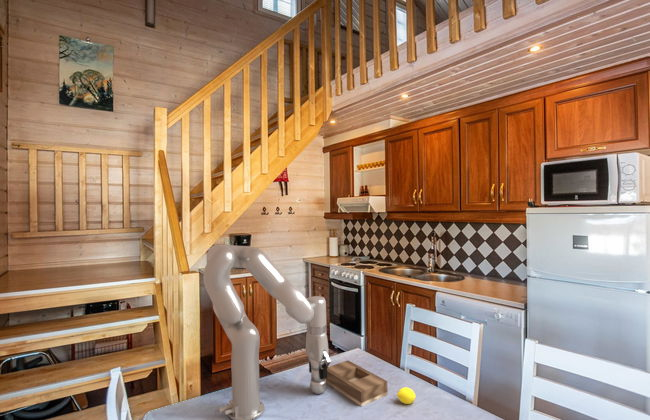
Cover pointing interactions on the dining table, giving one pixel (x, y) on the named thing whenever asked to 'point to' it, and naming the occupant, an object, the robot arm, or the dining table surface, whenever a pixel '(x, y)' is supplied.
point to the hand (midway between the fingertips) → (318, 374)
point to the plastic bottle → (316, 377)
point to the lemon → (406, 395)
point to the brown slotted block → (356, 382)
